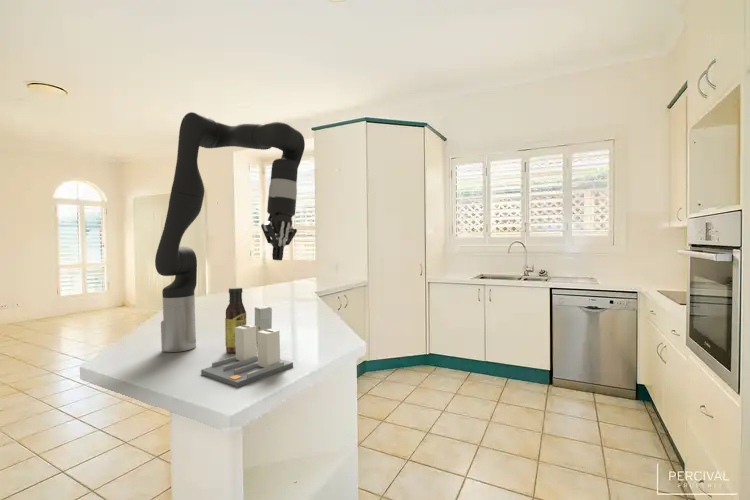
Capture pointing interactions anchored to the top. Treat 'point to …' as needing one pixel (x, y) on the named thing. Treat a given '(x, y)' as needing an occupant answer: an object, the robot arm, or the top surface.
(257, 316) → the skincare box
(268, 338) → the tab
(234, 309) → the sauce bottle
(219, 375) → the switch board
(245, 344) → the tab
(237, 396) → the top surface
